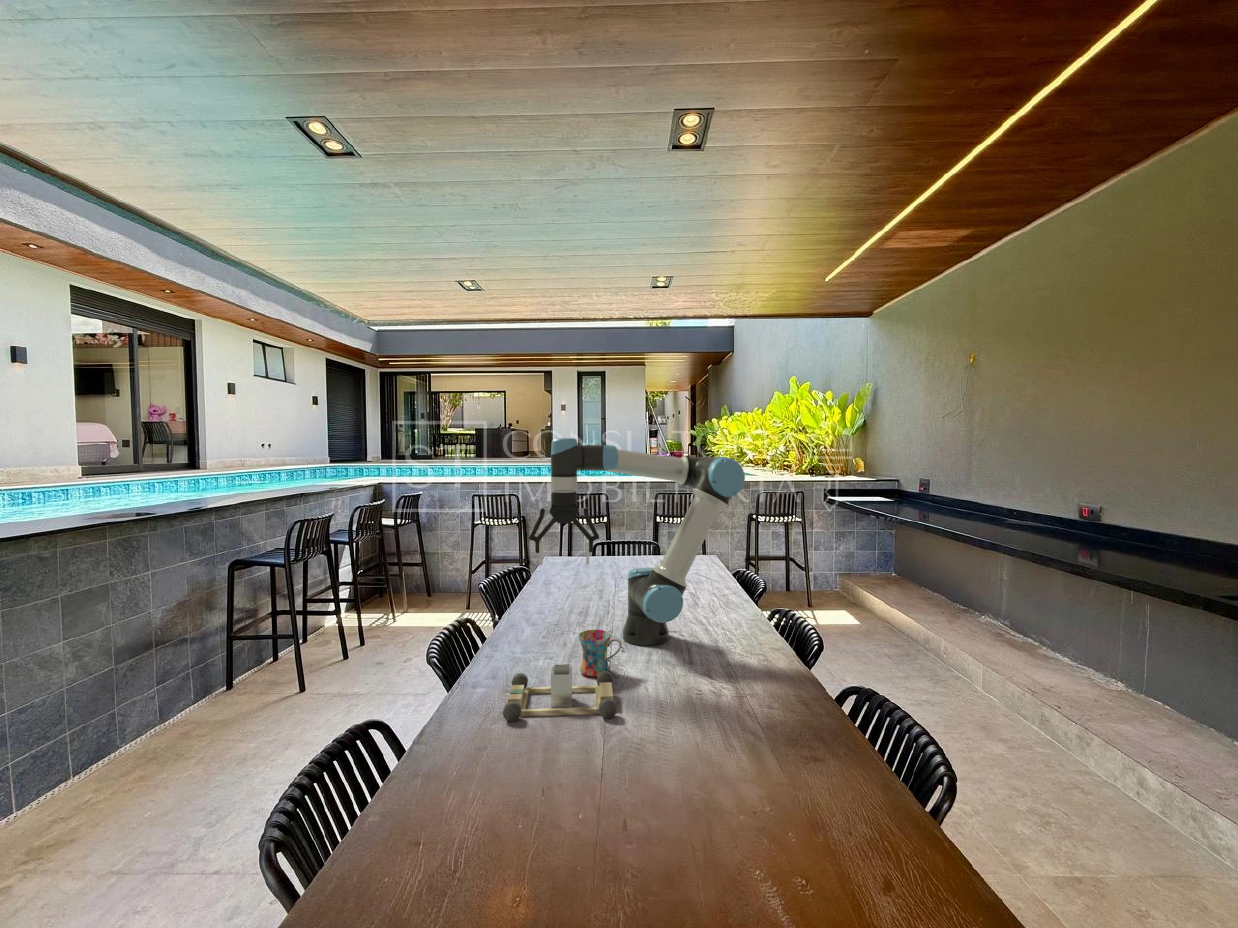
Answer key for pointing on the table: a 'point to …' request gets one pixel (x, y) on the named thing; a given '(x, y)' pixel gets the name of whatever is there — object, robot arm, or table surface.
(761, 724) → the table surface
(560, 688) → the engine block
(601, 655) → the mug
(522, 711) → the chassis
